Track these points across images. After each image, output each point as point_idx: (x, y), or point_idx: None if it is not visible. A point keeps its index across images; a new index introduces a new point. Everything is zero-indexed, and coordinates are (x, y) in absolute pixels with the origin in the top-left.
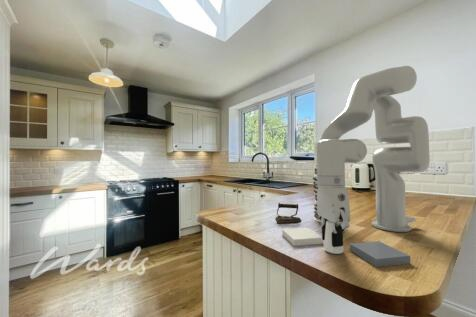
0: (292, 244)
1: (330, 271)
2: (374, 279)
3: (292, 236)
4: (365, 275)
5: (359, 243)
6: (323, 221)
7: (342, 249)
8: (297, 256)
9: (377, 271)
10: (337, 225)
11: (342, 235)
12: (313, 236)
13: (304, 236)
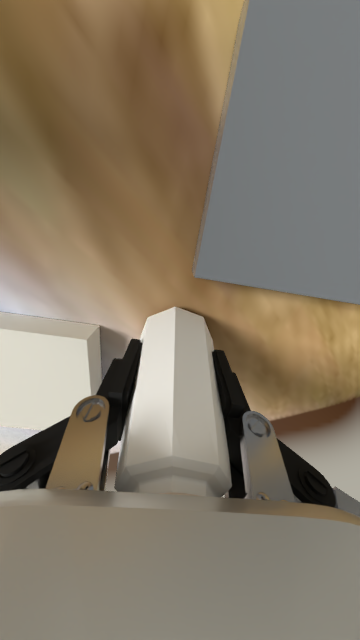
0: None
1: (263, 413)
2: (354, 358)
3: None
4: (329, 362)
5: (217, 216)
6: (105, 487)
7: (207, 330)
8: None
9: (346, 316)
10: (227, 467)
11: (236, 389)
12: (68, 368)
13: (65, 396)
